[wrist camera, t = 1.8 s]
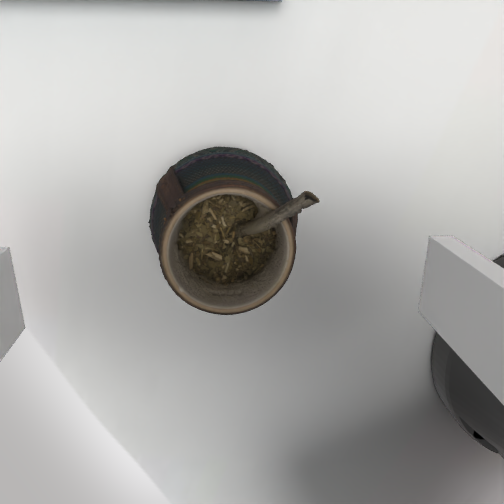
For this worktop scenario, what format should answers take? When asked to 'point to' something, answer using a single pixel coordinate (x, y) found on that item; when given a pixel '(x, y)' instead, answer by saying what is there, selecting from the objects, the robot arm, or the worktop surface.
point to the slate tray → (264, 0)
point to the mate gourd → (225, 229)
